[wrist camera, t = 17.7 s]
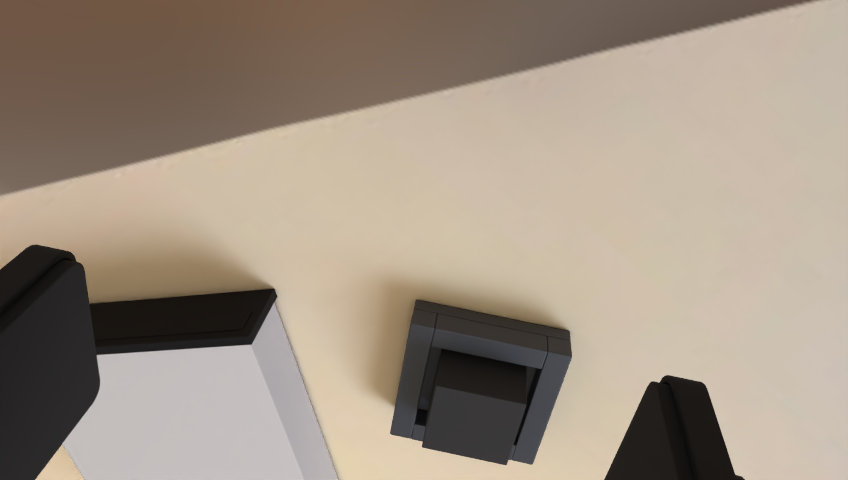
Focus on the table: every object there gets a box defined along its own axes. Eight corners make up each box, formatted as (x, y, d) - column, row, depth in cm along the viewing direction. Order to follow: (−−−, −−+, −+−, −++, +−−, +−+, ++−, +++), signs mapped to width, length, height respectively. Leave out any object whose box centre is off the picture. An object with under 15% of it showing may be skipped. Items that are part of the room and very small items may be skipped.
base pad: (395, 408, 48) (389, 434, 46) (416, 299, 43) (410, 323, 41) (532, 437, 48) (532, 465, 46) (569, 330, 42) (572, 356, 40)
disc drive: (274, 287, 44) (247, 335, 40) (354, 511, 55) (339, 568, 51) (43, 306, 47) (-4, 352, 43) (162, 513, 58) (133, 566, 54)
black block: (429, 402, 46) (421, 447, 43) (443, 342, 43) (435, 385, 40) (507, 418, 46) (506, 465, 42) (526, 359, 43) (526, 404, 40)
